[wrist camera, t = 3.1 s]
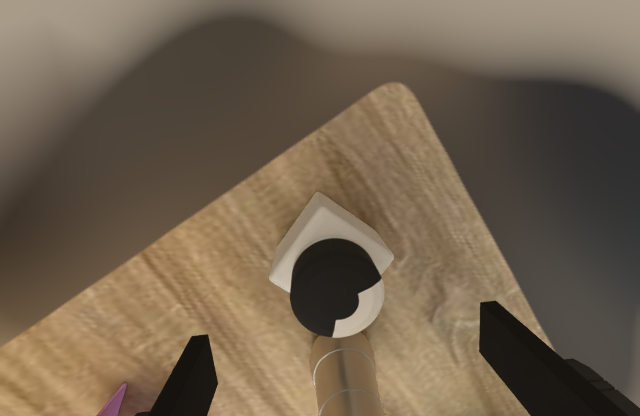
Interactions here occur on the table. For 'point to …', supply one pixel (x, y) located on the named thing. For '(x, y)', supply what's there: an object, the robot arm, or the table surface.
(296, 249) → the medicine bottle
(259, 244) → the table surface
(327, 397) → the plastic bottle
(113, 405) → the toy chair
